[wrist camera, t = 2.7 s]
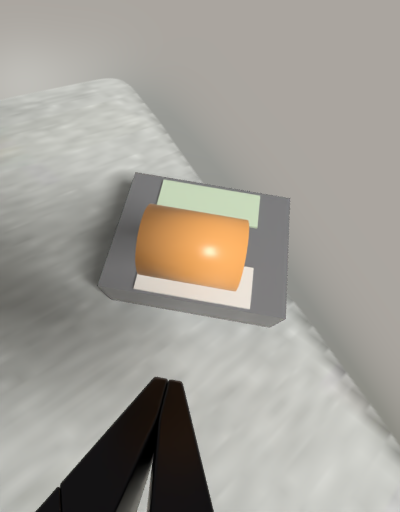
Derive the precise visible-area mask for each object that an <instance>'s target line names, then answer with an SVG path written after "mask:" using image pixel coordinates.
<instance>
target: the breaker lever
mask: <svg viewBox="0 0 400 512" xmlns="http://www.w3.org/2000/svg"><path fill="white" fill-rule="evenodd" d="M248 239H249V221H248V220H245V219H239V218H233V217H227V216H221V215H215V214H210V213H204V212H198V211H192V210H186V209H180V208H174V207H168V206H162V205H157V204H149V205H148V206H147V208H146V209H145V211H144V214H143V216H142V219H141V223H140V226H139V231H138V236H137V242H136V252H135V265H136V271H137V273H138V274H139V275H144V276H149V277H155V278H161V279H166V280H172V281H178V282H183V283H189V284H195V285H201V286H206V287H212V288H218V289H223V290H229V291H236V290H237V289H238V286H239V284H240V281H241V277H242V273H243V269H244V264H245V259H246V254H247V247H248Z"/></svg>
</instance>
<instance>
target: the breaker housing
mask: <svg viewBox="0 0 400 512" xmlns="http://www.w3.org/2000/svg"><path fill="white" fill-rule="evenodd" d="M149 204H157V205H162V206H168V207H174V208H180V209H186V210H192V211H198V212H204V213H210V214H215V215H221V216H227V217H233V218H239V219H245V220H248V221H249V239H248V247H247V254H246V259H245V264H244V269H243V273H242V277H241V281H240V284H239V286H238V289H237V290H236V291H229V290H223V289H218V288H212V287H206V286H201V285H195V284H189V283H183V282H178V281H172V280H166V279H161V278H155V277H149V276H144V275H139V274H138V273H137V271H136V265H135V252H136V242H137V236H138V231H139V226H140V223H141V219H142V216H143V214H144V211H145V209H146V208H147V206H148V205H149ZM289 214H290V198H285V197H279V196H273V195H267V194H262V193H255V192H250V191H244V190H238V189H231V188H225V187H220V186H214V185H208V184H202V183H196V182H190V181H184V180H178V179H172V178H166V177H160V176H154V175H148V174H142V173H136V172H135V175H134V178H133V181H132V184H131V187H130V190H129V193H128V196H127V199H126V202H125V205H124V208H123V211H122V214H121V217H120V220H119V223H118V226H117V229H116V232H115V235H114V238H113V241H112V244H111V246H110V249H109V252H108V255H107V258H106V261H105V264H104V267H103V270H102V273H101V276H100V279H99V282H98V285H97V286H98V287H99V288H100V289H101V290H102V291H103V292H104V293H105V294H106V295H107V296H108V297H109V298H110V299H113V300H118V301H124V302H129V303H135V304H141V305H146V306H152V307H158V308H163V309H169V310H174V311H180V312H186V313H191V314H197V315H202V316H208V317H214V318H219V319H225V320H231V321H236V322H242V323H247V324H253V325H259V326H264V327H272V326H274V325H275V324H277V323H279V322H281V321H283V320H285V319H286V297H287V269H288V240H289Z"/></svg>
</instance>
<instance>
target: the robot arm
mask: <svg viewBox="0 0 400 512" xmlns="http://www.w3.org/2000/svg"><path fill="white" fill-rule="evenodd" d="M152 460H153V462H152ZM151 465H152V470H151V478H150V487H149V496H148V505H147V512H214V510H213V506H212V502H211V498H210V494H209V490H208V486H207V482H206V477H205V473H204V469H203V465H202V461H201V457H200V453H199V449H198V444H197V440H196V436H195V432H194V428H193V424H192V420H191V416H190V411H189V407H188V403H187V399H186V395H185V391H184V387H183V383H182V382H181V381H176V380H169V381H168V380H167V379H165V378H160V377H154V378H153V379H152V380H151V381H150V382H149V384H148V385H147V386H146V387H145V388H144V389H143V390H142V392H141V393H140V394H139V395H138V396H137V397H136V398H135V400H134V401H133V402H132V403H131V404H130V405H129V406H128V407H127V409H126V410H125V411H124V412H123V413H122V414H121V415H120V417H119V418H118V419H117V420H116V421H115V422H114V423H113V425H112V426H111V427H110V428H109V429H108V430H107V431H106V432H105V434H104V435H103V436H102V437H101V438H100V439H99V440H98V442H97V443H96V444H95V445H94V446H93V447H92V448H91V450H90V451H89V452H88V453H87V454H86V455H85V456H84V457H83V459H82V460H81V461H80V462H79V463H78V464H77V465H76V467H75V468H74V469H73V470H72V471H71V472H70V473H69V475H68V476H67V477H66V478H65V479H64V480H63V481H62V483H61V484H60V487H57V488H56V489H55V490H54V491H53V493H52V494H51V495H50V496H49V497H48V498H47V499H46V500H45V502H44V503H43V504H42V505H41V506H40V507H39V508H38V509H37V510H36V512H137V509H138V506H139V503H140V500H141V497H142V493H143V490H144V487H145V484H146V481H147V478H148V475H149V471H150V468H151Z"/></svg>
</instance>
